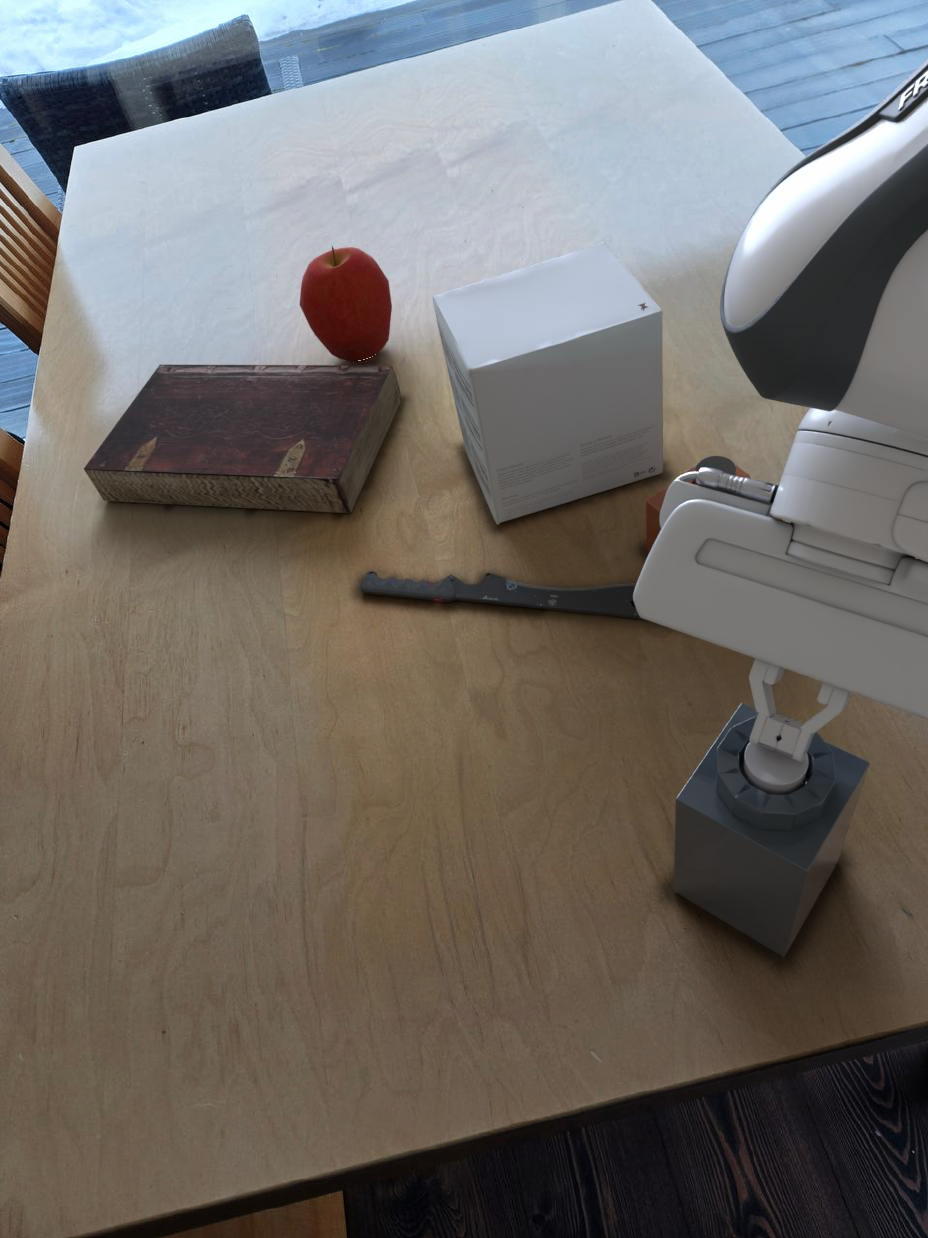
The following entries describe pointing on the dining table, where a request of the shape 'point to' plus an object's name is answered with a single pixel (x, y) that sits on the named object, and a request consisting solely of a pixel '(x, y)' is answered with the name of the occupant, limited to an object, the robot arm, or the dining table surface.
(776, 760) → the cylinder
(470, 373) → the supplement box
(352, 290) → the apple
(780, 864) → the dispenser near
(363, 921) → the dining table surface
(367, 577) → the knife
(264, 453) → the book
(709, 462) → the dark grey cylinder
